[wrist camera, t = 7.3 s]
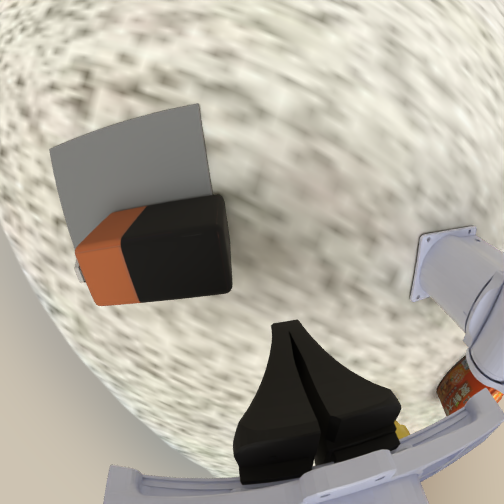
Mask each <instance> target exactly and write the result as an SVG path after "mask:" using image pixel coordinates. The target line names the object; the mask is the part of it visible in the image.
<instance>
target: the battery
mask: <svg viewBox="0 0 504 504" xmlns="http://www.w3.org/2000/svg"><path fill="white" fill-rule="evenodd" d="M75 255H76V258H77V259H76V263H75V268H74V269H75V272H76V274H77V277H78V279H79V282H80V283H82V282H86V283H87V286H88V288H89V290H90V293H91V295H92V297H93V299H94V302H95V303H96V305H98V306H108V305H121V304H133V303H144V302H154V301H164V300H174V299H183V298H192V297H201V296H210V295H218V294H225V293H228V292H230V291H231V289H232V268H231V251H230V238H229V231H228V224H227V217H226V210H225V203H224V199H223V197H222V196H220V195H210V196H203V197H197V198H190V199H184V200H178V201H172V202H166V203H160V204H154V205H149V206H143V207H138V208H133V209H128V210H123V211H118V212H113V213H111V214H110V215H109V216H107V217H106V218H105V219H104V220H103V221H102V222H101V223H100V224H99V225H98V226H97V227H96V228H95V229H94V230H93V231H92V232H91V233H90V234H89V235H88V236H87V237H86V238H85V239H84V240H83V241H82V242H81V243H80V244H79V245H78V246H77V247H76V249H75Z"/></svg>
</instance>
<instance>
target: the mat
mask: <svg viewBox="0 0 504 504" xmlns="http://www.w3.org/2000/svg"><path fill="white" fill-rule="evenodd" d="M49 150H50V156H51V161H52V167H53V172H54V176H55V181H56V185H57V190H58V194H59V198H60V202H61V205H62V209H63V213H64V216H65V220H66V223H67V226H68V230H69V233H70V236H71V239H72V242H73V245H74V248H75V249H76V247H77V246H78V245H79V244H80V243H81V242H82V241H83V240H84V239H85V238H86V237H87V236H88V235H89V234H90V233H91V232H92V231H93V230H94V229H95V228H96V227H97V226H98V225H99V224H100V223H101V222H102V221H103V220H104V219H105V218H106V217H107V216H109V215H110V214H111V213H113V212H118V211H123V210H128V209H133V208H138V207H143V206H149V205H154V204H160V203H166V202H172V201H178V200H184V199H190V198H197V197H203V196H210V195H213V193H212V187H211V181H210V175H209V168H208V162H207V156H206V149H205V143H204V136H203V129H202V122H201V116H200V108H199V104H193V105H188V106H183V107H178V108H174V109H169V110H165V111H161V112H156V113H152V114H149V115H145V116H141V117H137V118H134V119H130V120H127V121H124V122H120V123H117V124H114V125H111V126H108V127H105V128H102V129H99V130H96V131H93V132H91V133H88V134H85V135H82V136H80V137H77V138H75V139H72V140H70V141H67V142H65V143H62V144H60V145H58V146H55V147H53V148H51V149H49Z"/></svg>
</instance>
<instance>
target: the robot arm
mask: <svg viewBox="0 0 504 504" xmlns="http://www.w3.org/2000/svg"><path fill="white" fill-rule="evenodd" d="M427 238H428V240H427ZM428 297H431V298H432V299H433V300H434V301H435V302H436V303H437V304H438V305H439V306H440V307H441V308H442V309H443V310H444V311H445V312H446V313H447V314H448V315H449V316H450V317H451V318H452V319H453V320H454V322H455V323H456V324H457V325H458V326H459V327H460V328H461V329H462V330H463V331H464V332H465V333H466V334H465V337H464V339H463V342H464V343H465V344H466V345H467V346H468V349H467V352H466V359H467V363H468V366H469V368H470V370H471V372H472V374H473V375H474V376H475V378H476V379H477V380H478V381H480V382H481V383H482V384H484V385H486V386H488V387H492V388H494V389H496V390H498V391H500V392H501V393H503V394H504V252H502V251H500V250H499V249H497V248H496V247H494V246H493V245H491V244H490V243H488V242H486V241H485V240H483V239H481V238H480V237H478V236H476V227H475V226H469V227H463V228H457V229H452V230H446V231H440V232H435V233H429V234H424V235H422V236H421V237H420V242H419V249H418V256H417V263H416V269H415V275H414V280H413V286H412V291H411V295H410V300H411V301H412V302H415V301H418V300H421V299H425V298H428ZM271 328H272V344H271V350H270V356H269V360H268V364H267V367H266V371H265V374H264V376H263V379H262V382H261V384H260V386H259V389H258V391H257V393H256V395H255V397H254V399H253V401H252V402H251V404H250V406H249V408H248V409H247V411H246V412H245V414H244V415H243V417H242V418H241V420H240V421H239V423H238V426H237V429H236V432H235V436H234V441H233V452H234V458H235V460H236V462H237V464H238V466H239V474H240V477H232V478H176V477H162V476H152V475H143V474H141V473H140V472H139V471H138V470H136V469H133V468H130V467H123V466H117V465H110V468H109V473H108V478H107V484H106V490H105V496H104V503H103V504H429V503H428V500H427V497H426V495H425V492H424V490H423V487H422V485H421V482H422V481H424V480H425V479H427V478H429V477H431V476H432V475H434V474H436V473H438V472H439V471H441V470H443V469H444V468H446V467H447V466H449V465H450V464H452V463H454V462H455V461H457V460H458V459H459V458H461V457H462V456H464V455H465V454H467V453H468V452H470V451H471V450H472V449H474V448H475V447H477V446H478V445H479V444H481V443H482V442H483V441H485V440H486V438H488V437H489V436H490V435H491V434H492V433H493V432H494V430H495V429H496V428H498V426H499V425H500V424H501V423H502V422H503V421H504V413H503V411H502V410H501V408H500V407H499V405H498V404H497V402H496V401H495V399H494V398H493V396H492V395H491V394H490V392H489V391H488V389H487V388H484V389H483V390H481V391H480V392H478V393H477V394H475V395H474V396H472V397H471V398H470V399H469V400H468V401H467V403H466V404H465V406H464V407H463V408H461V409H459V410H457V411H456V412H454V413H452V414H451V415H449V416H447V417H445V418H443V419H441V420H440V421H438V422H436V423H434V424H432V425H430V426H428V427H426V428H424V429H422V430H419V431H417V432H415V433H413V434H411V435H408V436H406V437H404V438H401V439H398V437H397V434H396V432H395V431H396V430H397V428H396V426H395V424H394V422H395V420H396V418H397V417H398V415H399V413H400V410H401V405H400V403H399V401H398V399H397V398H396V396H395V395H394V394H393V392H392V391H391V390H390V389H388V388H385V387H382V386H380V385H377V384H374V383H372V382H370V381H368V380H366V379H364V378H362V377H361V376H359V375H357V374H355V373H354V372H352V371H350V370H349V369H347V368H346V367H345V366H343V365H342V364H340V363H339V362H338V361H336V360H335V359H334V358H333V357H332V356H330V355H329V354H328V353H327V352H326V351H325V350H324V349H323V348H322V347H321V346H320V345H319V344H318V343H317V342H316V341H315V340H314V339H313V338H312V337H311V335H310V334H309V333H308V332H307V331H306V329H305V328H304V327H303V326H302V324H301V323H300V321H299V320H292V321H286V322H279V323H273V324H272V325H271ZM314 459H315V465H316V466H313V461H314ZM312 466H313V467H312Z"/></svg>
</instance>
